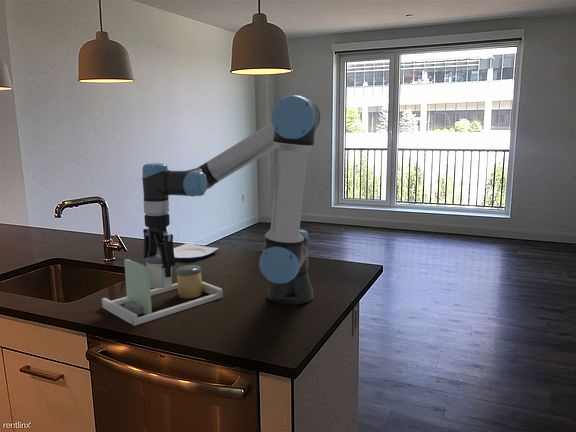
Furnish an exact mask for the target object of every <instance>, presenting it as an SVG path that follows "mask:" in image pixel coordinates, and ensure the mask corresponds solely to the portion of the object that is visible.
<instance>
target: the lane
mask: <svg viewBox="0 0 576 432" xmlns="http://www.w3.org/2000/svg"><path fill="white" fill-rule="evenodd" d="M202 289H203V293H206V294H208V295H205V296H202V297H200V298H196V299H194V300H189V301H186V302H183V303H180V304H177V305H173V306H171V307H167V308H164V309H160V310H157V311H154V312H152V313H151V314H147V315H145V314H144V315H142V316H138V315H137V314H135V313H133V312H131V311H129V310H128V309H126V308H125V306H122V305H123V304H124V302H127V296H124V297H120V298H116V299H113V300H111V299H109V298H107V297H103V298H101V305H102V309H104V310H106V311H107V312H110V314H112V315H114V316H116V317H118V318H120V319H121V320H123V321H125V322H126V323H128V324H130V325H132V326H138V325H141V324H144V323H147V322H151V321H154V320H157V319H160V318H163V317H165V316H168V315H173V314H175V313H178V312H179V313H180V312H182V311H185V310H187V309H191V308H193V307H194V308H195V307H197V306H201V305H203V304H207V303H210V302H213V301H216V300H219V299H222V298H224V297H223V294H224V291H223V288H221V287H219V286H216V285H213V284H210V283H207V282H206V281H203V280H202ZM174 290H178V282H175V283H172V285H171V286H169V287H166V288H152V289H151V297H152V296H156V295H159V294H162V293H166V292H170V291H174ZM124 305H125V304H124Z"/></svg>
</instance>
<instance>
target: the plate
mask: <svg viewBox="0 0 576 432" xmlns="http://www.w3.org/2000/svg"><path fill="white" fill-rule="evenodd" d="M173 249H174V257H175V261H176V260H178V261H190V262H191V261H196V260H200V259H204V258H206V257H209V256H211V255H213V254H215V253H216V252H217V251H218V250H220V249H219V247H212V246H211V247H210V246H203V245H198V244H194V243H190V242H187V243H185V244H182V245H180V246H177V247H173ZM158 254H160V251H159V252H158Z"/></svg>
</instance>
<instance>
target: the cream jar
mask: <svg viewBox="0 0 576 432" xmlns="http://www.w3.org/2000/svg"><path fill="white" fill-rule="evenodd" d="M145 259H146V260H145V261H146V266H147V267H149V271H150V289H156V288H163V285H162V268H161V267H162V266H163V263H162V259H161V255H160V253H158V254H157V253H156V255H151V256H148V257H146V258H145ZM172 273H173V271H172V269H171V285H172V284H173V277H172V276H173V274H172Z"/></svg>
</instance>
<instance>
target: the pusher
mask: <svg viewBox="0 0 576 432" xmlns="http://www.w3.org/2000/svg"><path fill="white" fill-rule="evenodd" d="M123 262H124V274H125V275H124V277H125V290H126V291H125V292H126V297H127V302H124V308H126V309H128V310H129V311H131V312H133V313H135V314H137V316H139V315H142V314H144V315H147V314H151V313H153V311H152V310H153V309H152V296H151V290H152V288H150V271H149V267H147V265H144V264H142V263H139V262H137V261H134V260H131V259H129V258H127V259H124V261H123Z"/></svg>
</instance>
